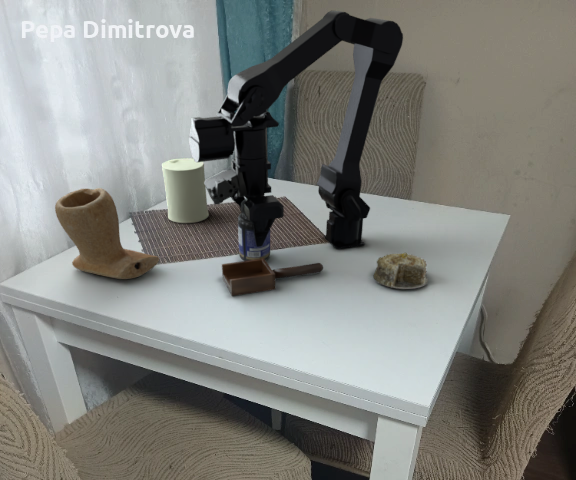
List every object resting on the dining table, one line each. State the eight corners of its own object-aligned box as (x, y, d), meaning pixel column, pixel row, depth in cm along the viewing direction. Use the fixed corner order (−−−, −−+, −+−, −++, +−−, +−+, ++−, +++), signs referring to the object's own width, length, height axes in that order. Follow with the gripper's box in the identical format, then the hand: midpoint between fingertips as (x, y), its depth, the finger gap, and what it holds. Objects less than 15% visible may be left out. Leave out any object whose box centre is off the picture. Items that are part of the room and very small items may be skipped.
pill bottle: (276, 254, 113) (277, 201, 105) (258, 267, 109) (258, 214, 102) (250, 244, 115) (249, 192, 108) (232, 257, 112) (230, 205, 104)
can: (187, 206, 136) (182, 153, 128) (217, 214, 131) (212, 160, 124) (159, 217, 130) (151, 163, 122) (189, 226, 125) (183, 170, 118)
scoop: (315, 265, 110) (316, 250, 108) (329, 281, 104) (330, 265, 103) (222, 279, 105) (221, 264, 103) (232, 296, 100) (231, 280, 98)
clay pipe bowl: (57, 275, 106) (36, 194, 97) (102, 252, 115) (87, 176, 106) (118, 294, 100) (102, 210, 91) (162, 268, 109) (151, 189, 100)
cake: (362, 275, 107) (364, 247, 105) (408, 267, 111) (410, 240, 108) (391, 294, 100) (393, 265, 97) (439, 285, 103) (442, 256, 100)
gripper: (195, 145, 105) (203, 227, 115) (218, 175, 91) (225, 265, 101) (253, 140, 108) (256, 220, 118) (284, 168, 94) (284, 256, 103)
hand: (254, 239), depth 110 cm, fingers closed on pill bottle, 6 cm apart
